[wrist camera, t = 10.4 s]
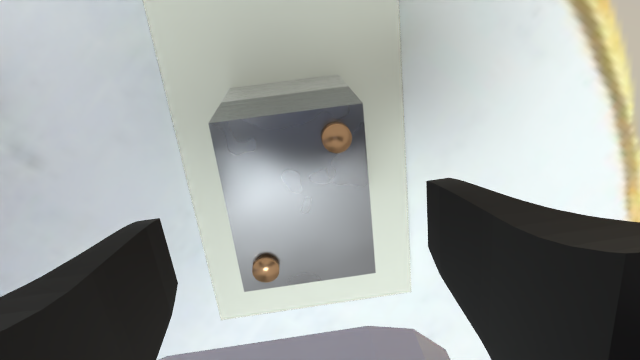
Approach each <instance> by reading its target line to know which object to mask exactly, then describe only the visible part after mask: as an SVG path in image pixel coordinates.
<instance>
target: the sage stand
mask: <svg viewBox="0 0 640 360" xmlns="http://www.w3.org/2000/svg"><path fill="white" fill-rule="evenodd" d="M143 4H144V8H145V12H146V16H147V20H148V24H149V28H150V32H151V36H152V40H153V45H154V49H155V53H156V57H157V61H158V65H159V69H160V73H161V77H162V81H163V85H164V89H165V94H166V98H167V102H168V106H169V110H170V114H171V118H172V122H173V126H174V130H175V134H176V138H177V142H178V147H179V151H180V155H181V159H182V163H183V167H184V171H185V175H186V179H187V183H188V187H189V191H190V196H191V200H192V204H193V208H194V212H195V216H196V220H197V224H198V228H199V232H200V236H201V240H202V244H203V249H204V253H205V257H206V261H207V265H208V269H209V273H210V277H211V281H212V285H213V289H214V293H215V298H216V302H217V306H218V310H219V314H220V318H221V320H225V319H232V318H239V317H246V316H252V315H259V314H266V313H273V312H279V311H286V310H293V309H300V308H306V307H313V306H320V305H327V304H334V303H340V302H347V301H354V300H361V299H367V298H374V297H381V296H388V295H395V294H401V293H408V292H411V272H410V249H409V226H408V203H407V180H406V156H405V133H404V110H403V87H402V64H401V41H400V18H399V0H143ZM337 74H338V75H339V76H340V77H341V78H342V79H343V81H344V82H345V83H346V84H347V85H348V86H349V88H350V89H351V90H352V91H353V92H354V93H355V95H356V96H357V97H358V98H359V99H360V100H361V102H362V103H363V112H364V125H365V138H366V151H367V165H368V178H369V191H370V204H371V217H372V230H373V243H374V256H375V269H376V273H372V274H365V275H358V276H351V277H345V278H338V279H331V280H324V281H317V282H310V283H303V284H296V285H289V286H282V287H275V288H268V289H262V290H255V291H248V292H244V289H243V284H242V279H241V275H240V270H239V265H238V260H237V256H236V251H235V246H234V242H233V237H232V232H231V228H230V223H229V218H228V213H227V209H226V204H225V199H224V195H223V190H222V185H221V181H220V176H219V171H218V166H217V162H216V157H215V152H214V148H213V143H212V138H211V133H210V129H209V124H208V123H209V121H210V120H211V118H212V116H213V115H214V113H215V112H216V110H217V108H218V107H219V105H220V103H221V102H222V100H223V99H224V97H225V95H226V94H227V92H228V90H229V89H230V88H235V87H242V86H250V85H258V84H266V83H274V82H282V81H289V80H297V79H305V78H313V77H321V76H329V75H337Z"/></svg>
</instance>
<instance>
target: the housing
mask: <svg viewBox="0 0 640 360" xmlns="http://www.w3.org/2000/svg"><path fill="white" fill-rule="evenodd" d="M208 124H209V129H210V133H211V138H212V143H213V148H214V152H215V157H216V162H217V166H218V171H219V176H220V181H221V185H222V190H223V195H224V199H225V204H226V209H227V213H228V218H229V223H230V228H231V232H232V237H233V242H234V246H235V251H236V256H237V260H238V265H239V270H240V275H241V279H242V284H243V289H244V292H248V291H255V290H262V289H268V288H275V287H282V286H289V285H296V284H303V283H310V282H317V281H324V280H331V279H338V278H345V277H351V276H358V275H365V274H372V273H376V269H375V256H374V243H373V230H372V217H371V204H370V191H369V178H368V165H367V151H366V138H365V125H364V112H363V103H362V102H361V100H360V99H359V98H358V97H357V96H356V95H355V93H354V92H353V91H352V90H351V89H350V88H349V86H348V85H347V84H346V83H345V82H344V81H343V79H342V78H341V77H340V76H339V75H338V74H337V75H329V76H321V77H313V78H305V79H297V80H289V81H282V82H274V83H266V84H258V85H250V86H242V87H235V88H230V89H229V90H228V92H227V94H226V95H225V97H224V99H223V100H222V102H221V103H220V105H219V107H218V108H217V110H216V112H215V113H214V115H213V116H212V118H211V120H210V121H209V123H208Z"/></svg>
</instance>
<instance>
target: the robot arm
mask: <svg viewBox="0 0 640 360" xmlns="http://www.w3.org/2000/svg"><path fill="white" fill-rule="evenodd" d="M427 218H428V247H429V250H430V252H431V255H432V257H433V260H434V262H435V264H436V266H437V269H438V271H439V273H440V275H441V277H442V279H443V280H444V282H445V284H446V285H447V287H448V288H449V290H450V292H451V293H452V295H453V296H454V298H455V300H456V301H457V303H458V304H459V306H460V308H461V309H462V311H463V312H464V314H465V315H466V317H467V319H468V320H469V322H470V323H471V325H472V326H473V328H474V330H475V331H476V333H477V334H478V336H479V338H480V339H481V341H482V343H483V345H484V346H485V348H486V350H487V352H488V353H489V356H490V358H491V360H640V223H639V222H630V221H622V220H614V219H606V218H599V217H592V216H586V215H581V214H576V213H571V212H566V211H561V210H556V209H552V208H548V207H544V206H540V205H536V204H533V203H529V202H526V201H522V200H519V199H516V198H512V197H509V196H506V195H503V194H500V193H497V192H494V191H491V190H488V189H485V188H482V187H479V186H477V185H474V184H471V183H468V182H464V181H461V180H457V179H452V178H445V179H438V180H431V181H427ZM177 285H178V282H177V279H176V275H175V271H174V268H173V264H172V261H171V257H170V254H169V250H168V247H167V243H166V239H165V236H164V232H163V229H162V225H161V222H160V218H158V219H151V220H144V221H137V222H134V223H132V224H129V225H127V226H126V227H124V228H122V229H120V230H118V231H117V232H115V233H113V234H112V235H110V236H108V237H107V238H105V239H104V240H102V241H100V242H99V243H97V244H96V245H94V246H92V247H91V248H89V249H88V250H86V251H84V252H83V253H81V254H79V255H78V256H76V257H74V258H73V259H71V260H69V261H68V262H66V263H64V264H62V265H61V266H59V267H57V268H56V269H54V270H52V271H50V272H49V273H47V274H45V275H43V276H42V277H40V278H38V279H36V280H34V281H32V282H30V283H28V284H26V285H25V286H23V287H21V288H18V289H16V290H14V291H12V292H10V293H8V294H6V295H4V296H2V297H0V360H156V358H157V356H158V353H159V350H160V347H161V345H162V342H163V339H164V336H165V333H166V330H167V328H168V325H169V322H170V319H171V316H172V312H173V307H174V302H175V296H176V291H177ZM159 360H450V358H449V356H448V354H447V352H446V350H445V349H444V348H442V347H441V346H439V345H437V344H436V343H434V342H433V341H431V340H430V339H428V338H426V337H425V336H423V335H422V334H420V333H419V332H417V331H415V330H414V329H407V328H391V327H376V326H364V327H358V328H351V329H344V330H338V331H331V332H324V333H318V334H311V335H305V336H298V337H291V338H285V339H278V340H271V341H265V342H258V343H252V344H245V345H238V346H232V347H225V348H218V349H212V350H205V351H199V352H192V353H185V354H179V355H172V356H167V357H164V358H162V359H159Z"/></svg>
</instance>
